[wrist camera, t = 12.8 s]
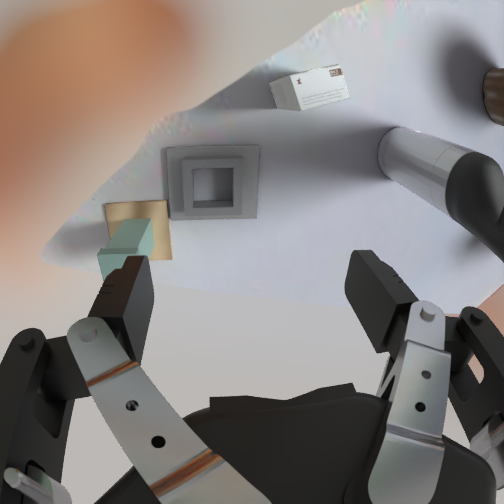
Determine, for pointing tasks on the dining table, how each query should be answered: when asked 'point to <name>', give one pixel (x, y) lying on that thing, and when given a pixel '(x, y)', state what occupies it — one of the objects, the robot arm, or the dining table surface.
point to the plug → (126, 244)
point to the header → (213, 157)
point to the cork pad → (142, 211)
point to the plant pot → (494, 94)
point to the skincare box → (310, 88)
